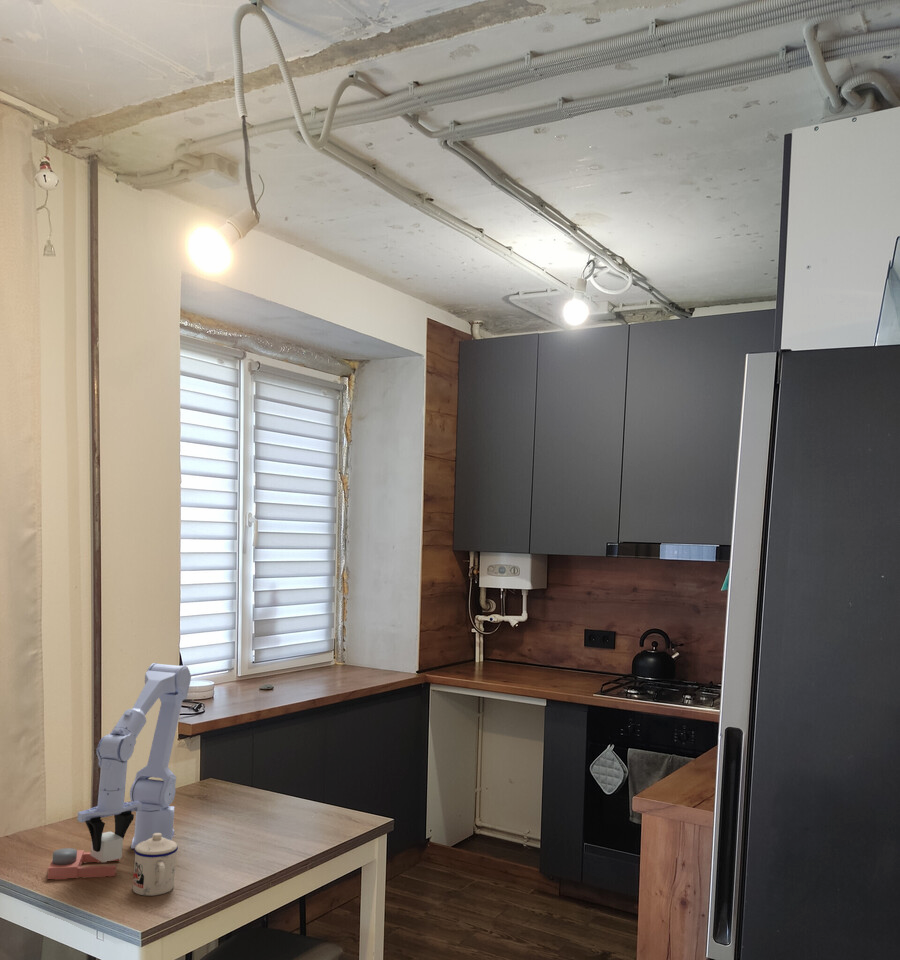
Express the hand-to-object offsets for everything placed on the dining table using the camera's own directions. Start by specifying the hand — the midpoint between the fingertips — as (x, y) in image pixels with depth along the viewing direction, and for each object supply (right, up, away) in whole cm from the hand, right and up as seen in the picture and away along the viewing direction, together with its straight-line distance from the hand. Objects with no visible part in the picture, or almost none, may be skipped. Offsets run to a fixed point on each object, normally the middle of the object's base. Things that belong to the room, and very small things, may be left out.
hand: (107, 848), depth 200 cm
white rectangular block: (0, -2, 0) cm, 2 cm away
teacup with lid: (+15, -5, -12) cm, 19 cm away
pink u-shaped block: (-5, -4, -1) cm, 6 cm away
